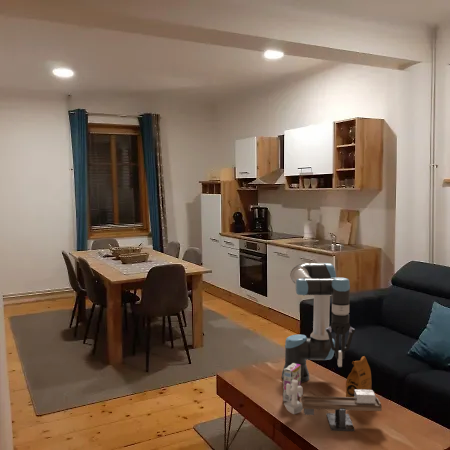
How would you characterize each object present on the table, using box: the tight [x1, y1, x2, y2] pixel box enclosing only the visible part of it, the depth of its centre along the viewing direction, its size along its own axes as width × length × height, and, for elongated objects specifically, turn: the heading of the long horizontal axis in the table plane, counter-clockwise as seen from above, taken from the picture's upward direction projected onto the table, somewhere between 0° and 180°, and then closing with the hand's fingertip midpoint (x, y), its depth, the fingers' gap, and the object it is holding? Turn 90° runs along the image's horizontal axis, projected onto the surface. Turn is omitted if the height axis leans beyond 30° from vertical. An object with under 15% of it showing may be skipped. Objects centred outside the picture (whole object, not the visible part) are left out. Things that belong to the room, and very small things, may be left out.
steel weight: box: [354, 389, 377, 405], centre depth 209 cm, size 6×8×5 cm
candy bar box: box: [282, 363, 302, 403], centre depth 235 cm, size 11×5×16 cm, turn 147°
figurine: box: [283, 380, 304, 415], centre depth 222 cm, size 7×9×15 cm
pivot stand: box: [325, 408, 356, 432], centre depth 211 cm, size 14×10×9 cm
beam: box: [300, 394, 383, 416], centre depth 210 cm, size 9×34×6 cm, turn 86°
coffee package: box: [345, 355, 373, 397], centre depth 230 cm, size 10×12×22 cm
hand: (339, 365), depth 209 cm, fingers closed
